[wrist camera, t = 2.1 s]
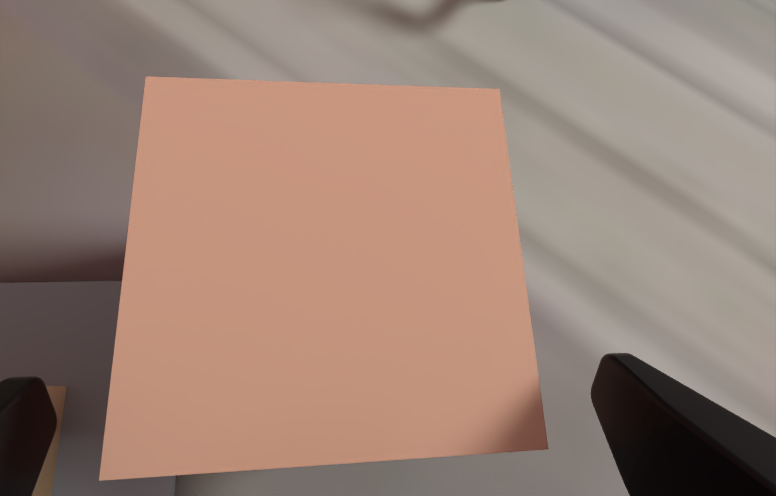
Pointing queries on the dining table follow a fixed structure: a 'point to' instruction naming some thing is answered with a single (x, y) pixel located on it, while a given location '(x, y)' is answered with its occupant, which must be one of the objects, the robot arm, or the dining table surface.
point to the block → (47, 473)
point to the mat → (71, 373)
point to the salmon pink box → (319, 281)
